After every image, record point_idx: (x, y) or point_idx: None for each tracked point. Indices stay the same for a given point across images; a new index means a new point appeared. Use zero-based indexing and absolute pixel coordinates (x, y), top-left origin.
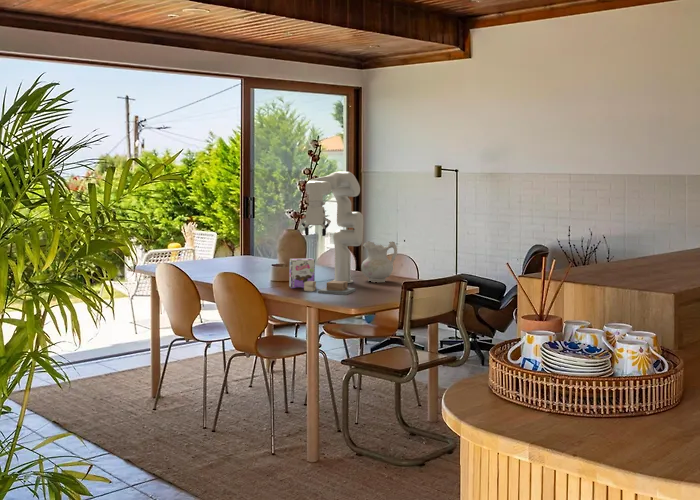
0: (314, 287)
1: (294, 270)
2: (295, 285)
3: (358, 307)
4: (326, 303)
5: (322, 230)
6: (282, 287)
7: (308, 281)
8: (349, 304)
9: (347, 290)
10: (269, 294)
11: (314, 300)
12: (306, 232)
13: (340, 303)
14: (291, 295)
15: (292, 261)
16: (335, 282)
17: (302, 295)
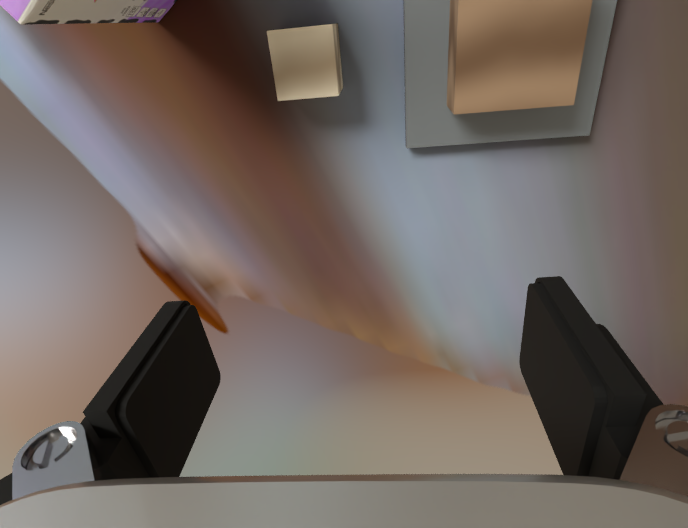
0: (338, 53)
1: (104, 5)
2: (168, 1)
3: None
4: None
5: (563, 459)
6: None
7: (289, 60)
8: None
9: (589, 65)
10: (220, 284)
11: (472, 345)
12: (197, 419)
13: None
14: (320, 271)
15: (39, 19)
16: (513, 77)
17: (365, 252)
